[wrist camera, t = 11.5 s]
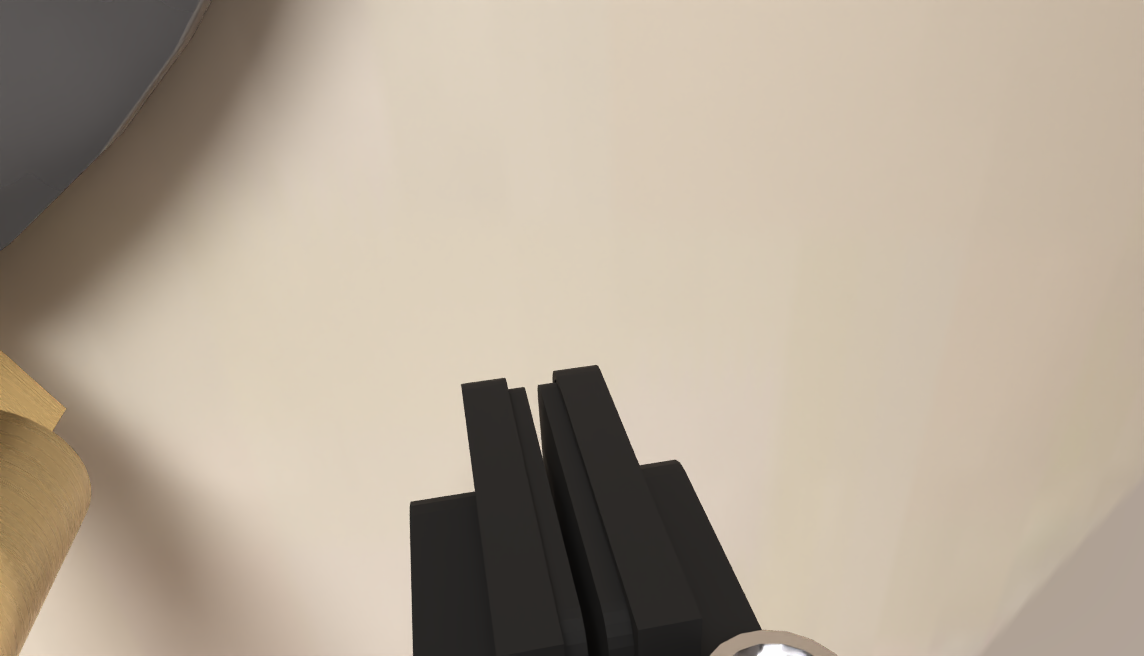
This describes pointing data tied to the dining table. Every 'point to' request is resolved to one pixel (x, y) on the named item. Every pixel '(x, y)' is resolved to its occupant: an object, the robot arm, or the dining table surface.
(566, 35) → the dining table surface
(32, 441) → the brass crank handle
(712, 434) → the dining table surface
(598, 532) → the robot arm
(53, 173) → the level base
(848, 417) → the dining table surface
